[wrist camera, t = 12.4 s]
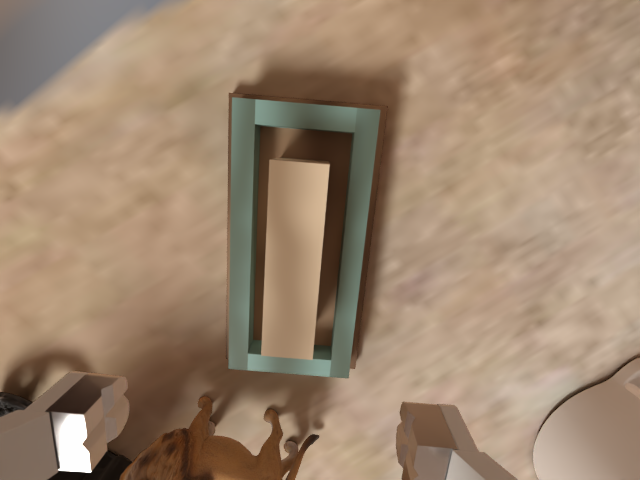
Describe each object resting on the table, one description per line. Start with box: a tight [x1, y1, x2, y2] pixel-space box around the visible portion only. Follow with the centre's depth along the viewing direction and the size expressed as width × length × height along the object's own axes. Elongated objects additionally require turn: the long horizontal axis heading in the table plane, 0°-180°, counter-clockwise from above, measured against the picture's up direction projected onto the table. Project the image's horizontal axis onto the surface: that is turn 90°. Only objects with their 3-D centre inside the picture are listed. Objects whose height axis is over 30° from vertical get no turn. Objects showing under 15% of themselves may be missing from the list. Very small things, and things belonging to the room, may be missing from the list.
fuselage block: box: [261, 157, 330, 360], centre depth 24 cm, size 4×13×5 cm, turn 175°
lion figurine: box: [120, 396, 319, 480], centre depth 27 cm, size 15×5×9 cm, turn 84°
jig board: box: [226, 93, 388, 378], centre depth 26 cm, size 11×21×3 cm, turn 175°
